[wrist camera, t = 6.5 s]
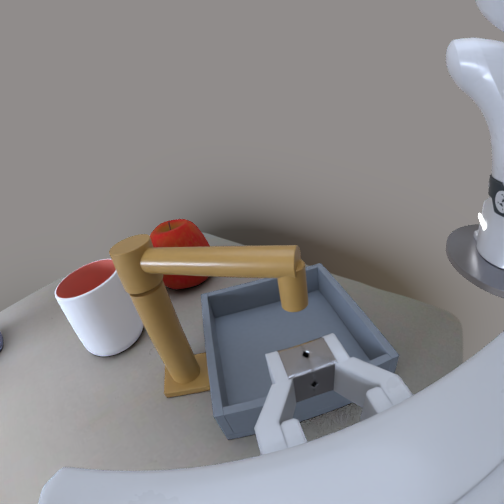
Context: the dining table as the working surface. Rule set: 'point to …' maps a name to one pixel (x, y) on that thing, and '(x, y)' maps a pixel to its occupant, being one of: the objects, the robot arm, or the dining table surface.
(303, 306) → the spout
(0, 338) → the bowl
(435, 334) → the dining table surface
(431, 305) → the dining table surface
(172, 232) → the apple
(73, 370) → the dining table surface
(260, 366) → the sink
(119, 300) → the cup
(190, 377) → the faucet base
